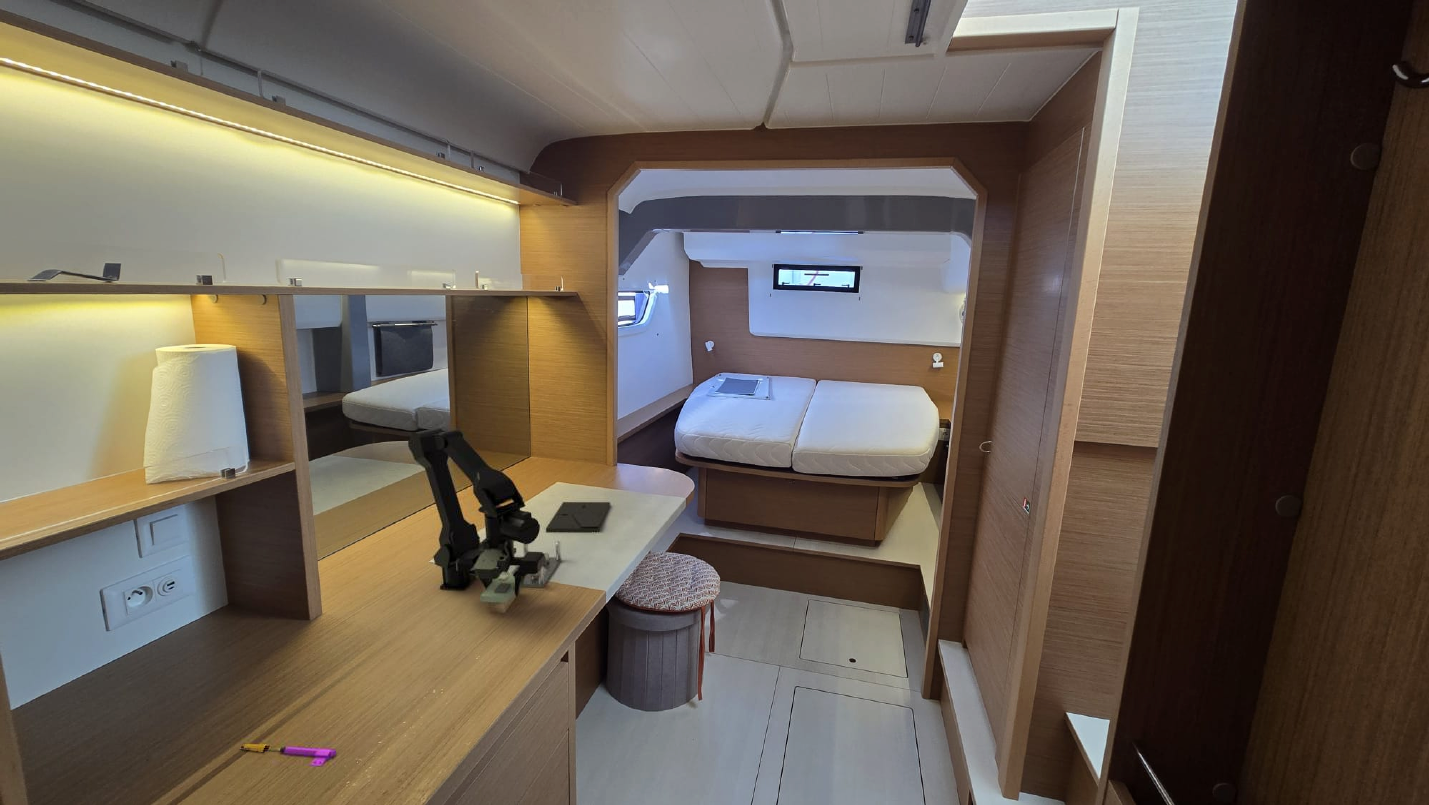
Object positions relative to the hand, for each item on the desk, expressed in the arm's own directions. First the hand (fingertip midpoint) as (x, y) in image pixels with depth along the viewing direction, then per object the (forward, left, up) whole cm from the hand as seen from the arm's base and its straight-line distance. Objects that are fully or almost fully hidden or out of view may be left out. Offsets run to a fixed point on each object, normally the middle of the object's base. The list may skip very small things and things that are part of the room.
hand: (503, 595), depth 129 cm
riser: (0, 0, -2) cm, 2 cm away
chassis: (+2, +15, -2) cm, 15 cm away
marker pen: (-17, -44, -3) cm, 47 cm away
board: (0, 0, +1) cm, 1 cm away
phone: (-15, +33, -3) cm, 36 cm away
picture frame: (+4, +49, -3) cm, 49 cm away
